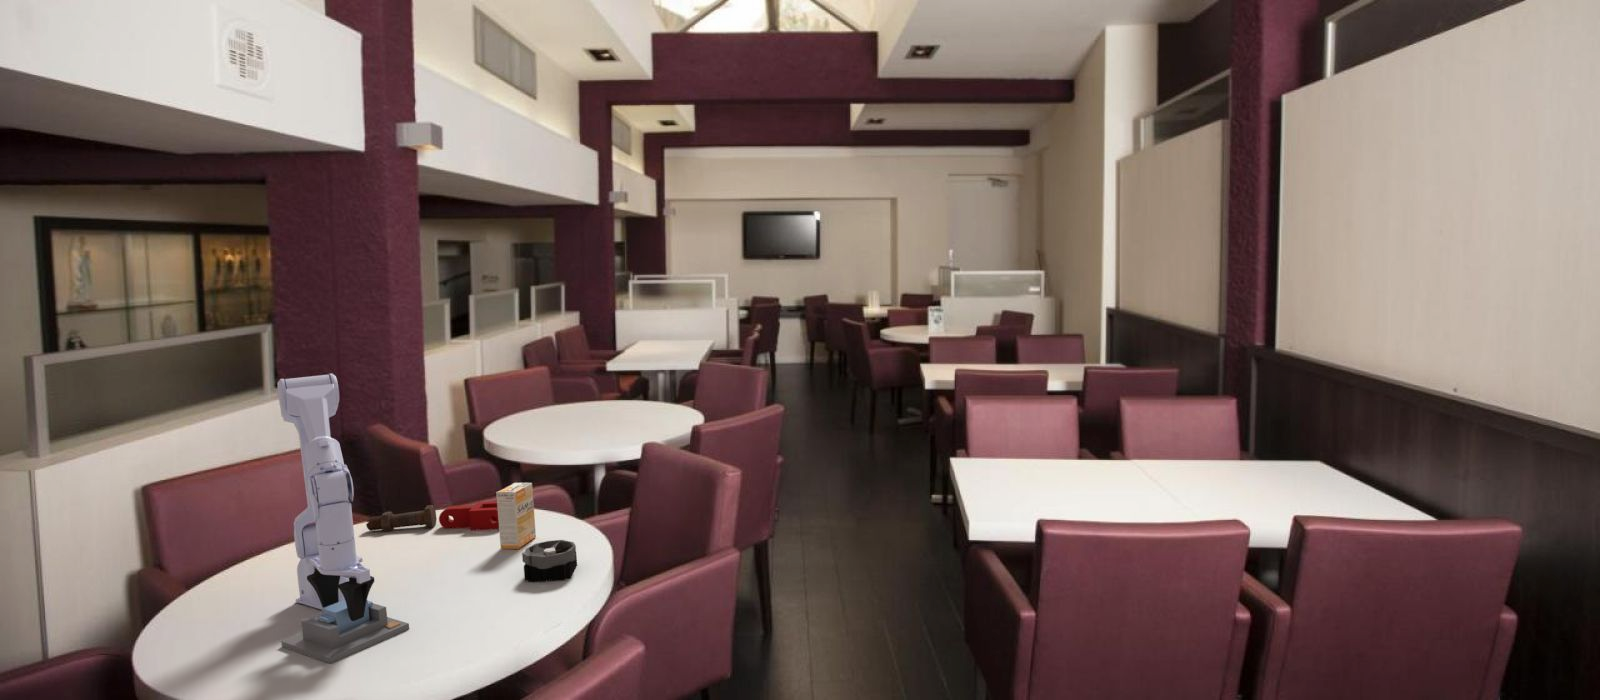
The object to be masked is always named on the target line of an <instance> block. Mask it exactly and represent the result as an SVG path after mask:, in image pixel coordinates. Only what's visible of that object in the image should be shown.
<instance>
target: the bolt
mask: <svg viewBox="0 0 1600 700" xmlns="http://www.w3.org/2000/svg"><path fill="white" fill-rule="evenodd" d="M365 525H366V529H368V531H372V532H373V531H378V530H379V531H380V530H382V531H383V532H384V533H388V532H392V531H394V529H397V528H404V527H406V528H407V527H413V526H415V527H416V526H426V529H427V530H428V529H433V528H435V527H436V525H437V512H436V507H434V505H433V504H429V505H428V504H427V505H426V507H425V508H424V510H420V511H414V512H413V511H412V512H404V513H395V514H394V513H393V512H392V511H391V510H390V511H385V512H383V513H382V514H381V515H380V516H371V517H369V518H367V519H366V524H365Z"/></svg>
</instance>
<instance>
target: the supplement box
mask: <svg viewBox="0 0 1600 700" xmlns="http://www.w3.org/2000/svg"><path fill="white" fill-rule="evenodd" d="M533 491H534V489H533V483H532V482H513V483H511V484H510V485H508V486H505V487H503V488H502V489H500V490H498V491H496V492H495V493H496V501H497V507H498V520H499V529H498V531H499V532H498V533H499V543H500V544H499V545H500V549H507V550H508V549H509V550H512V549H514V550H519V549H521V548H522V547H523V546H525V545H526V544H528V543H529V542H530V541H532V540H533V539H535V538H537V537H536V536H537V534H536V533H537V532H536V520H535V506H534V492H533Z"/></svg>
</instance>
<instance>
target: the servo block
mask: <svg viewBox="0 0 1600 700" xmlns="http://www.w3.org/2000/svg"><path fill="white" fill-rule="evenodd" d="M372 605H373V601H370V600H369V599H367V601H366V607H365V613H364V617H363V618H360V619H358V620H355V621H351V619H350V617H349V614H348V609H347V604H346V601H345V600H343V601H340V602H338V603H335V604H332V605H330V606H327V607H325V608H322V610H321V611H322V614H321V615H317V620H320V621H323V622H326V623H329V624H333V625H336V626H339V633H341V632H344V631H346V630H349V629H351V628H353V627H356V626H358V625H361V624H363V623H365V622H368V621H370V618H369V608H368V607H370V606H372Z"/></svg>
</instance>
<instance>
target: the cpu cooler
mask: <svg viewBox="0 0 1600 700" xmlns="http://www.w3.org/2000/svg"><path fill="white" fill-rule="evenodd" d="M521 553H522V554H521V558H522V562H523V563H524V565H523V574H524V581H525V580H528V581H527V582H528V583H531V582H532V581H533V582H532V583H536V582H537V581H539V582H540V581H542V582H551V580H552V582H554V581H555V582H556V580H557V581H565V580H566V579H572V576H573V575H574V573H575V571H574V570H576V568H577V567H578V560H577V559H578V558H577V546H576V544H575V543H574V541H570V540H566V539H556V540H555V539H554V540H547V541H541V542H538V543H534V544H532V545H530V546H529V547H526V548H525V551H524V552H521ZM576 566H577V567H576ZM546 580H547V581H546ZM549 580H550V581H549ZM529 581H530V582H529ZM535 581H536V582H535Z"/></svg>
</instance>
